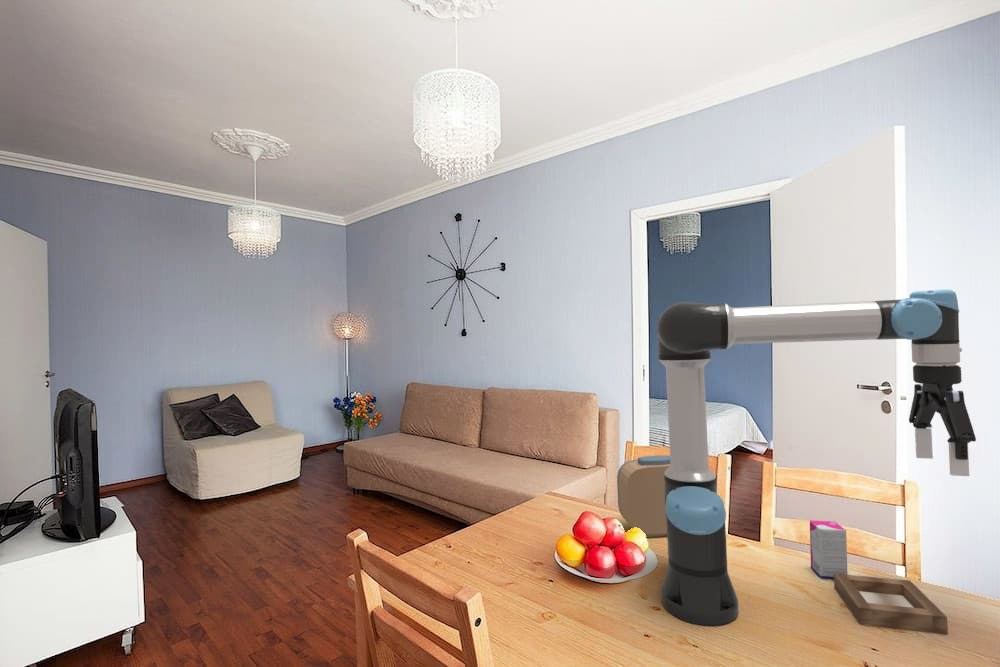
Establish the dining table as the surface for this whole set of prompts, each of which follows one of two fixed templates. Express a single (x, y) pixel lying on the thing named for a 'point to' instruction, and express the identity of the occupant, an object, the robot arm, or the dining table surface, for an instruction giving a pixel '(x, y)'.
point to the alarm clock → (644, 494)
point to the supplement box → (828, 549)
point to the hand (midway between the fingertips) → (940, 466)
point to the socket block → (889, 603)
